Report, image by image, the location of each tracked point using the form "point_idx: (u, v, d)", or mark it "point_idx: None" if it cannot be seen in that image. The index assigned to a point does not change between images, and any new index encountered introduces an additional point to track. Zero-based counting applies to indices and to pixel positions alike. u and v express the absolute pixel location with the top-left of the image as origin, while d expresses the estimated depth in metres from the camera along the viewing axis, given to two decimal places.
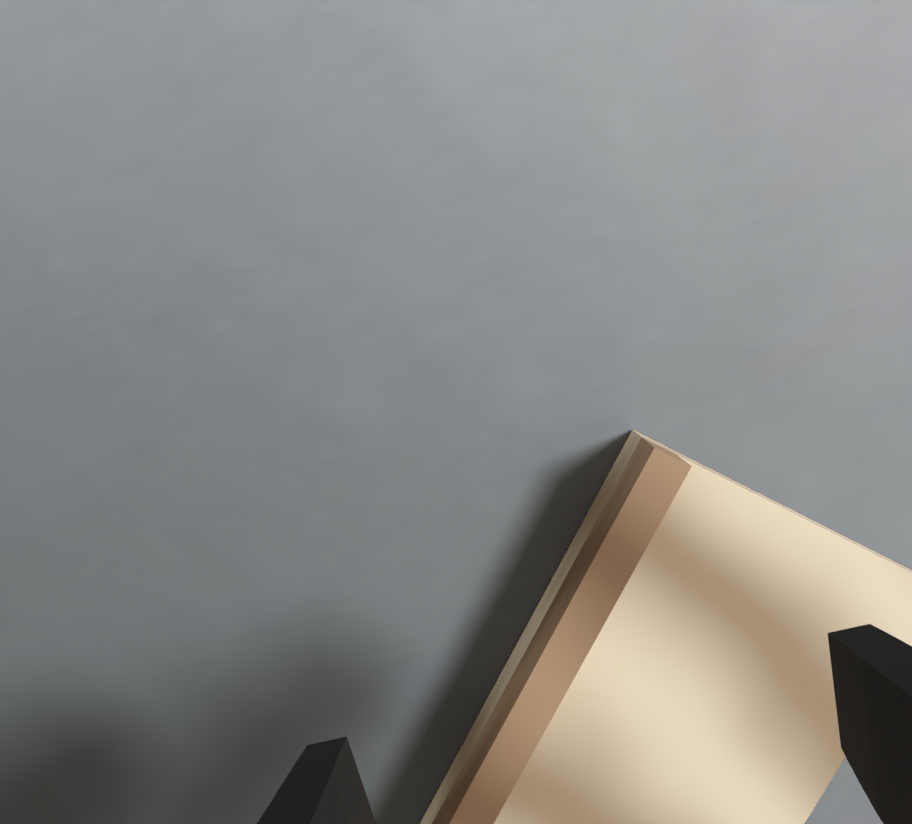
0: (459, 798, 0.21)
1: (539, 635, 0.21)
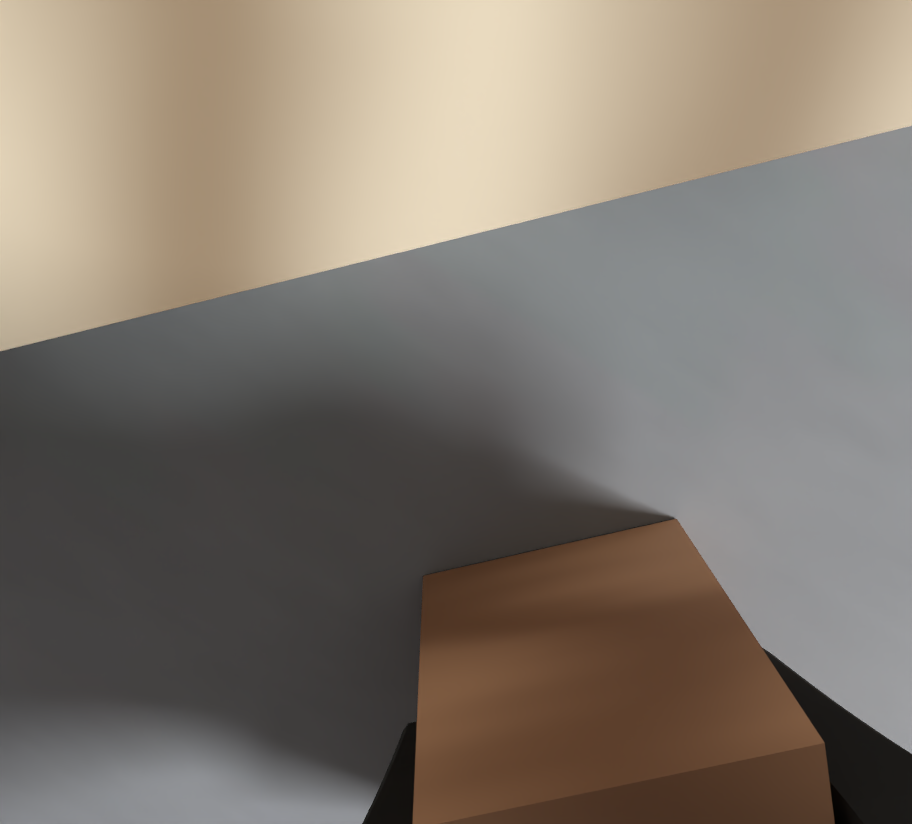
0: None
1: None
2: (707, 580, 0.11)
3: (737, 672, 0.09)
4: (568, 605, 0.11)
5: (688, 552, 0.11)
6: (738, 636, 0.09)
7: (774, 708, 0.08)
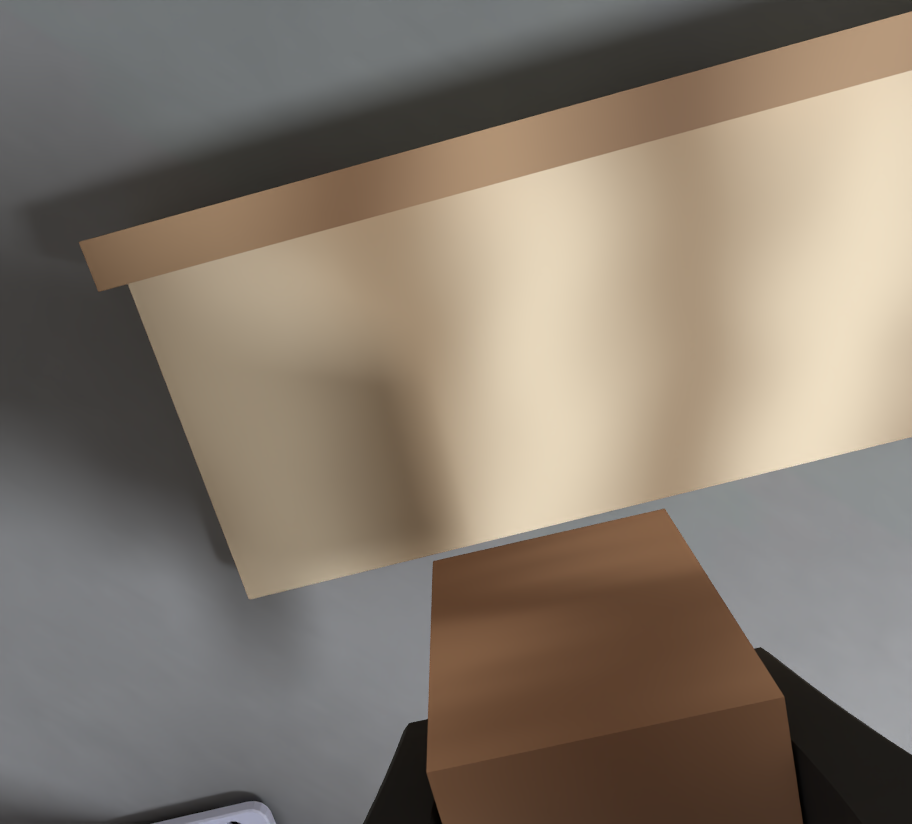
0: None
1: None
2: (689, 562, 0.12)
3: (712, 640, 0.10)
4: (565, 585, 0.12)
5: (673, 538, 0.13)
6: (715, 610, 0.11)
7: (743, 669, 0.09)
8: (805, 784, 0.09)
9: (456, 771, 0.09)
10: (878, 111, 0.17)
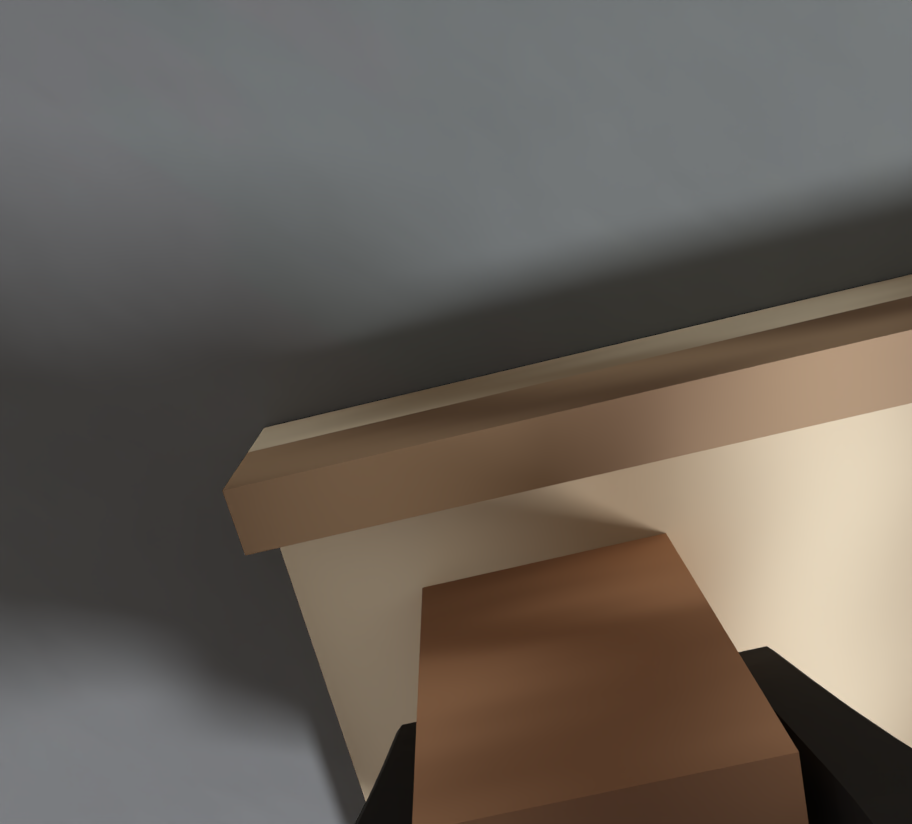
0: None
1: None
2: (693, 595, 0.11)
3: (719, 684, 0.09)
4: (561, 617, 0.11)
5: (676, 566, 0.12)
6: (721, 649, 0.10)
7: (753, 718, 0.09)
8: (813, 783, 0.09)
9: None
10: None
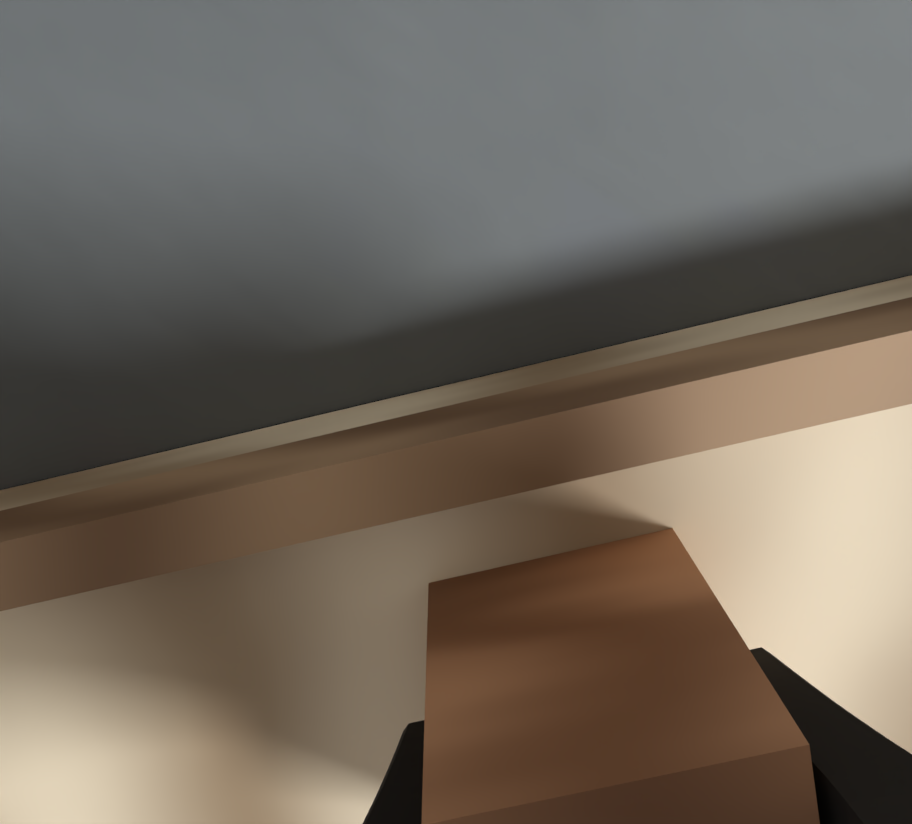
0: (552, 406, 0.11)
1: (863, 318, 0.11)
2: (701, 589, 0.11)
3: (728, 677, 0.09)
4: (569, 612, 0.11)
5: (684, 561, 0.12)
6: (730, 643, 0.10)
7: (763, 712, 0.09)
8: None
9: (454, 823, 0.08)
10: (846, 420, 0.12)
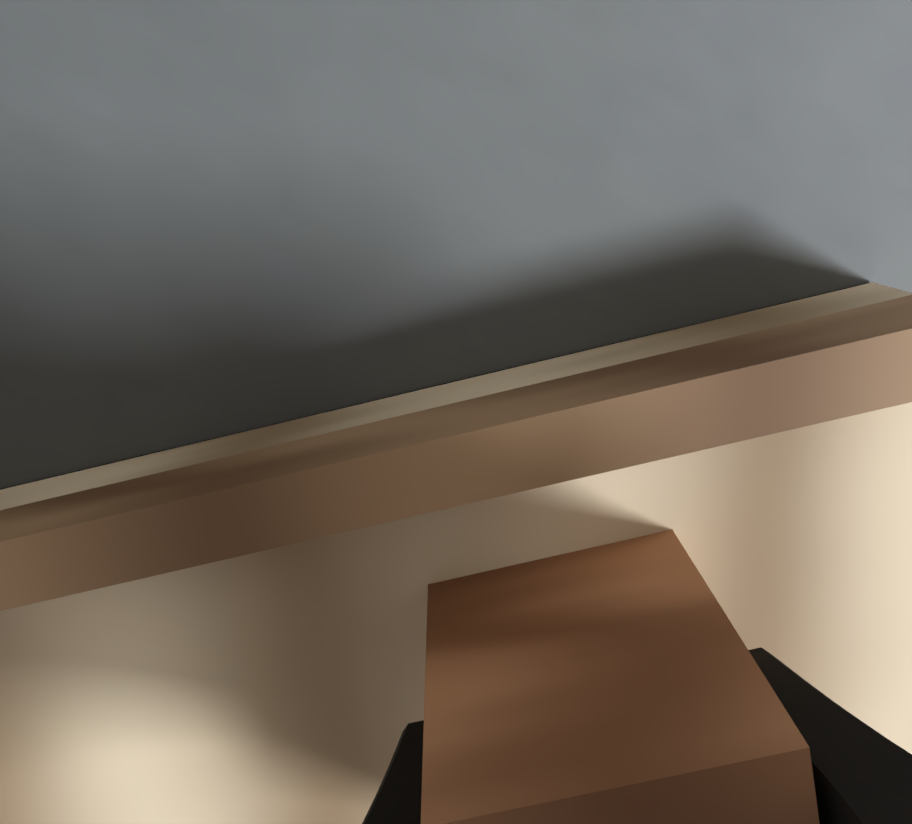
0: (215, 484, 0.11)
1: (533, 393, 0.12)
2: (701, 590, 0.11)
3: (728, 679, 0.09)
4: (568, 614, 0.11)
5: (683, 562, 0.12)
6: (730, 645, 0.10)
7: (762, 714, 0.09)
8: None
9: None
10: (542, 488, 0.13)
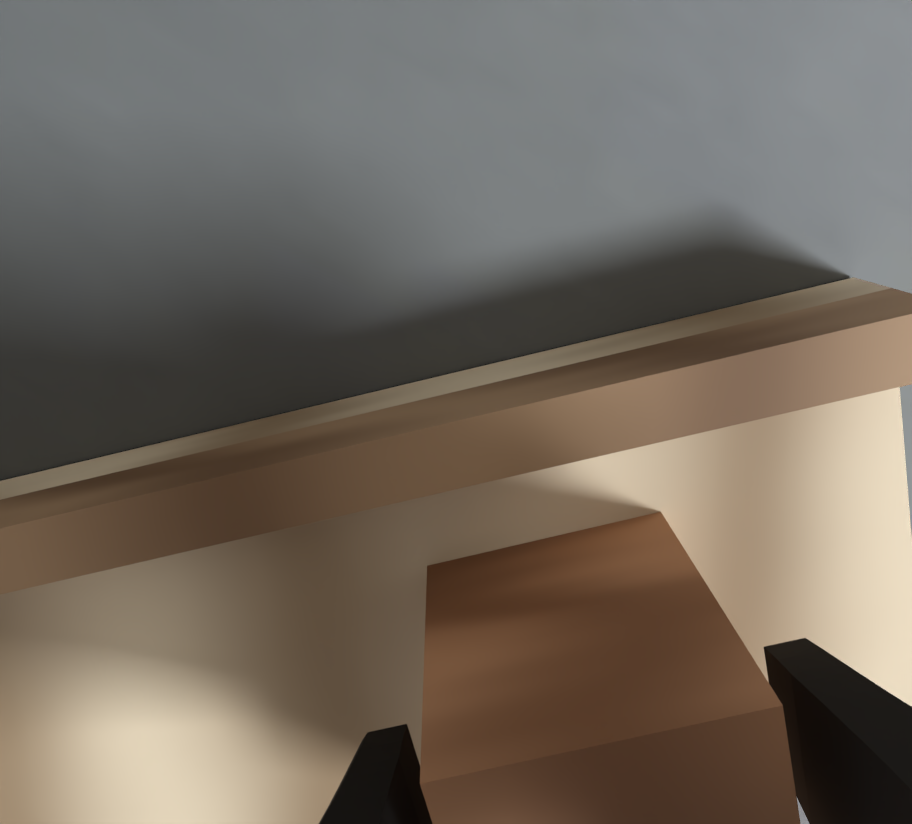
0: (225, 469, 0.12)
1: (528, 383, 0.12)
2: (686, 567, 0.12)
3: (709, 646, 0.10)
4: (560, 590, 0.12)
5: (670, 541, 0.12)
6: (712, 615, 0.10)
7: (740, 677, 0.09)
8: (862, 772, 0.09)
9: (449, 782, 0.09)
10: (537, 474, 0.13)
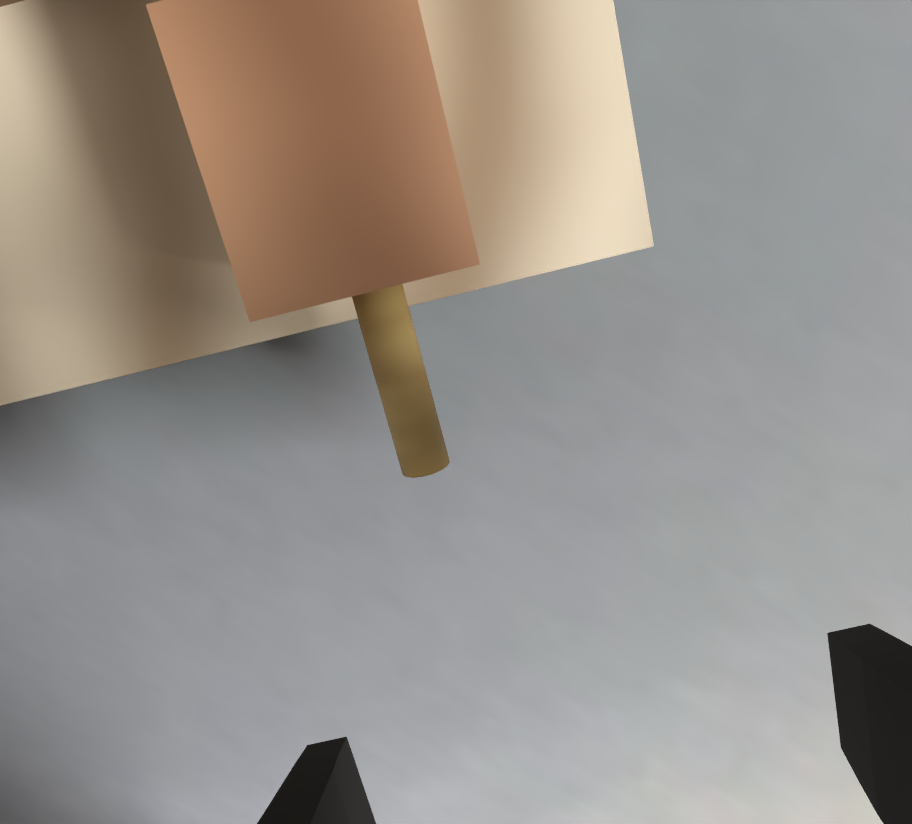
0: None
1: None
2: None
3: None
4: None
5: None
6: None
7: None
8: None
9: (167, 3, 0.12)
10: None
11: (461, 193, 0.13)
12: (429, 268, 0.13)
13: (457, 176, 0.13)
